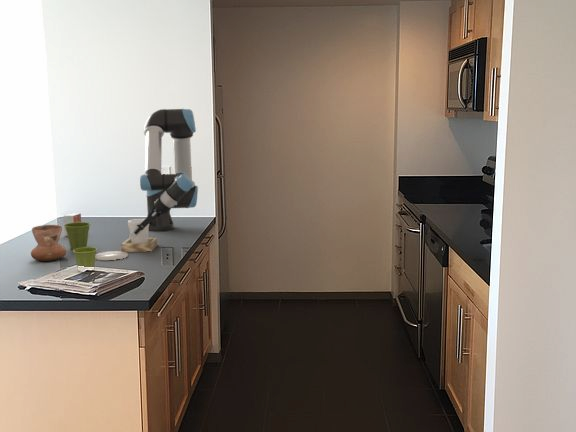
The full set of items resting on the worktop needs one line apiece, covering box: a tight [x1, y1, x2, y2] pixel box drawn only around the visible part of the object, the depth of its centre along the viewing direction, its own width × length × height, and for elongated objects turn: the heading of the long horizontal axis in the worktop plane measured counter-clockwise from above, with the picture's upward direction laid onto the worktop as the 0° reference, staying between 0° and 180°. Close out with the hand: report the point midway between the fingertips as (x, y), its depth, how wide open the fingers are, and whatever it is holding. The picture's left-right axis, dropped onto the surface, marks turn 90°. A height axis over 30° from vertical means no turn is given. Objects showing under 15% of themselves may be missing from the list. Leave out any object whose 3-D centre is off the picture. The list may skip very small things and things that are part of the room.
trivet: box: [95, 250, 129, 261], centre depth 293 cm, size 14×14×1 cm
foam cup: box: [127, 218, 150, 244], centre depth 308 cm, size 10×9×13 cm
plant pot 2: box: [72, 246, 98, 268], centre depth 270 cm, size 9×9×9 cm
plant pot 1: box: [63, 221, 91, 250], centre depth 311 cm, size 12×12×11 cm
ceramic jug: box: [30, 224, 67, 262], centre depth 290 cm, size 18×14×14 cm
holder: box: [120, 237, 158, 253], centre depth 309 cm, size 13×13×4 cm
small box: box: [62, 212, 82, 237], centre depth 342 cm, size 8×6×10 cm
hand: (134, 235), depth 309 cm, fingers open, 13 cm apart
